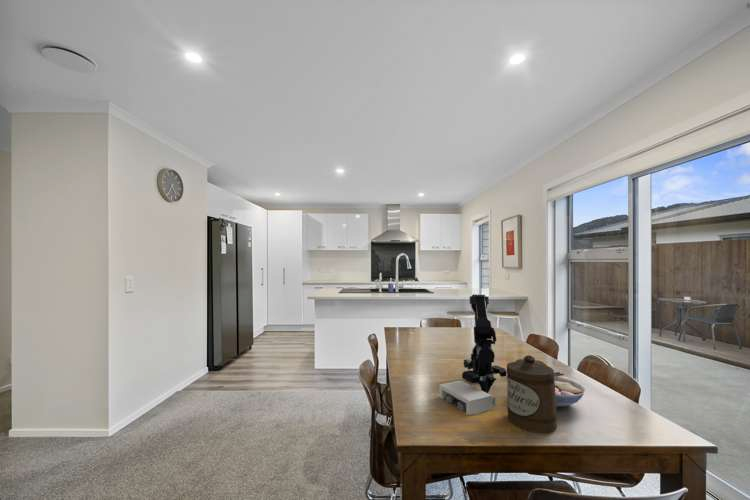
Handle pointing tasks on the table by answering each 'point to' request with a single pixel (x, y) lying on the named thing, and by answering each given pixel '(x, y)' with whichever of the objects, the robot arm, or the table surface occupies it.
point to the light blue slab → (465, 403)
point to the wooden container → (531, 396)
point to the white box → (466, 397)
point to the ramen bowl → (567, 390)
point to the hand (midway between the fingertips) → (485, 395)
